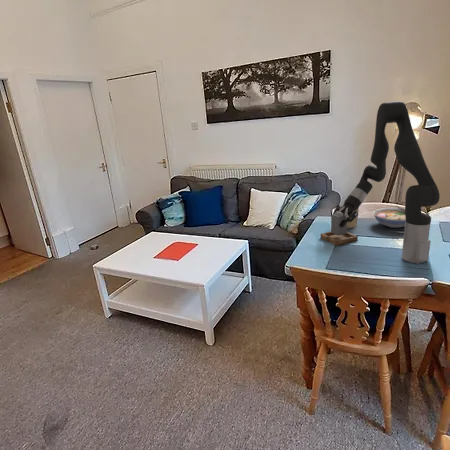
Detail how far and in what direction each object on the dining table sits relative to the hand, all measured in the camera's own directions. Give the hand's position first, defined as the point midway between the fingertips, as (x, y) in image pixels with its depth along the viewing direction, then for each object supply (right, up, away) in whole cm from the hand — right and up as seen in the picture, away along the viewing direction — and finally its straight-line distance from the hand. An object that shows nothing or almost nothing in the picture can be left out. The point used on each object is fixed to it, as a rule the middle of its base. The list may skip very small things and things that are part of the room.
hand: (336, 225), depth 165 cm
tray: (+2, -8, +3) cm, 9 cm away
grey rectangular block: (+2, -4, +2) cm, 5 cm away
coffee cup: (+15, -1, +21) cm, 26 cm away
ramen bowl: (+38, -1, +15) cm, 41 cm away
